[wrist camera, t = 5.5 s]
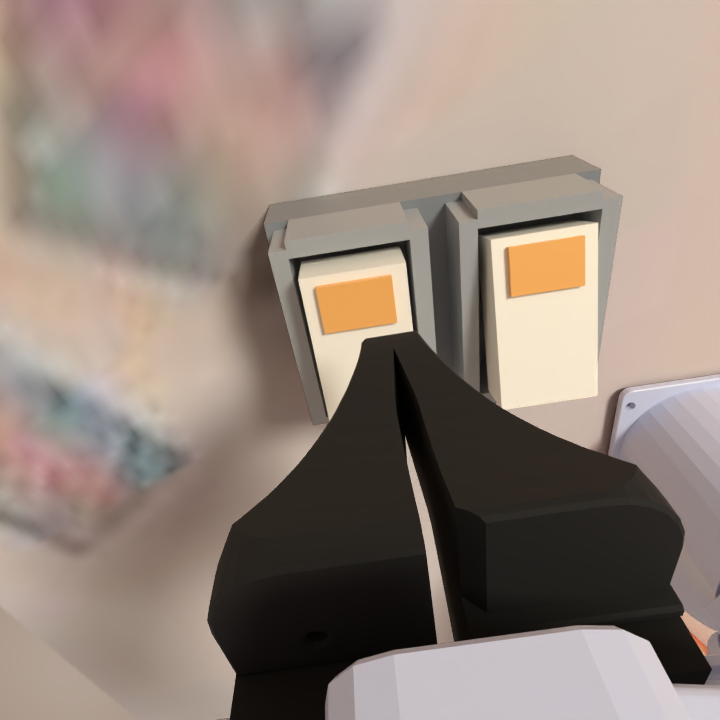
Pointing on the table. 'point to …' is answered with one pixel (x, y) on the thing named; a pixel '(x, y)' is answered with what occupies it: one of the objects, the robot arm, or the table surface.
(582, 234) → the breaker
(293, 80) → the table surface
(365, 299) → the breaker
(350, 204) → the breaker panel
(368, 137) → the table surface
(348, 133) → the table surface
